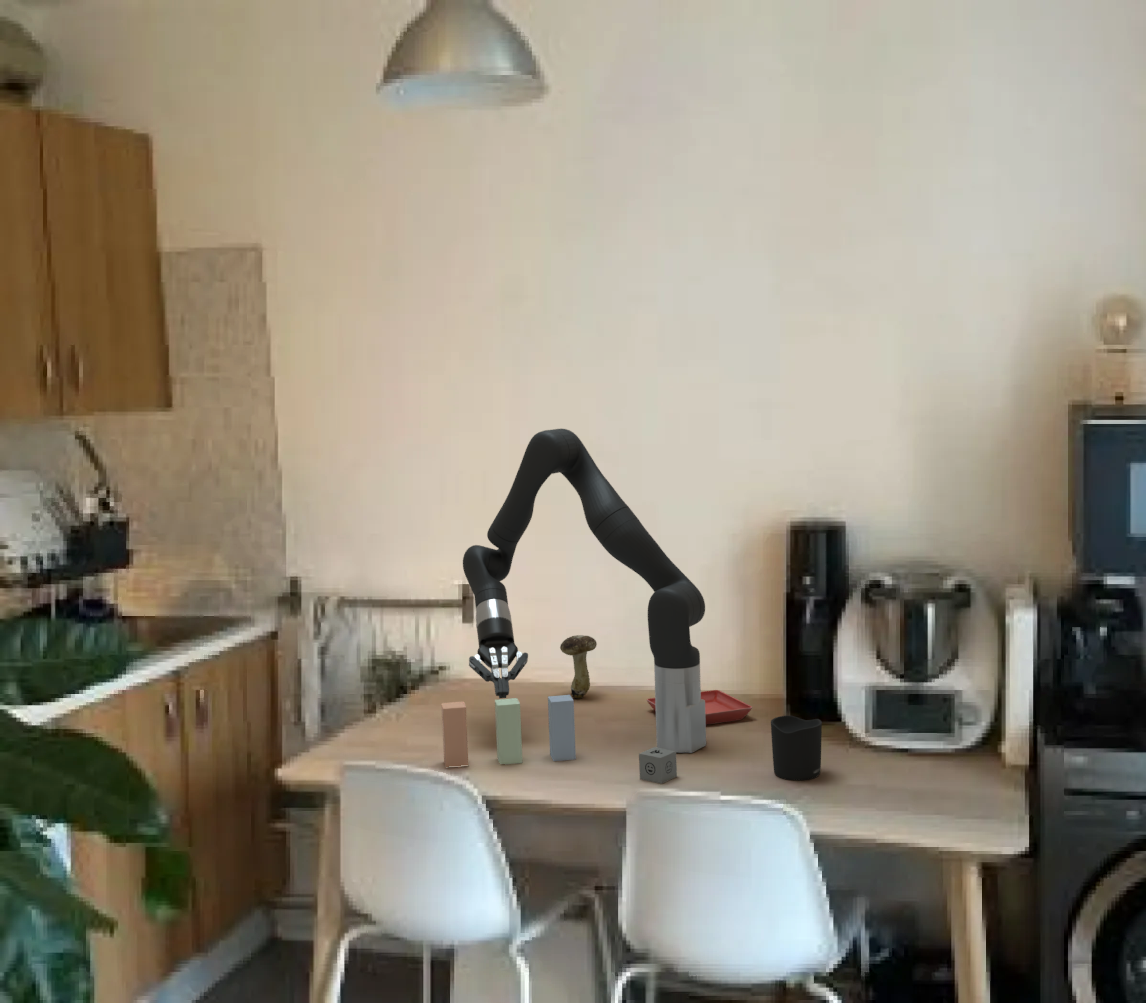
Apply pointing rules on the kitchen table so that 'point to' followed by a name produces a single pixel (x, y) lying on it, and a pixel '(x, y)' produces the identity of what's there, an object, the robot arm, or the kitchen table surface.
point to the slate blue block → (561, 727)
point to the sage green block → (508, 731)
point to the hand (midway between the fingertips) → (503, 696)
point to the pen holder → (796, 747)
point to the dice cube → (657, 765)
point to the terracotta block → (455, 734)
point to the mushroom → (579, 662)
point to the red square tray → (719, 707)
